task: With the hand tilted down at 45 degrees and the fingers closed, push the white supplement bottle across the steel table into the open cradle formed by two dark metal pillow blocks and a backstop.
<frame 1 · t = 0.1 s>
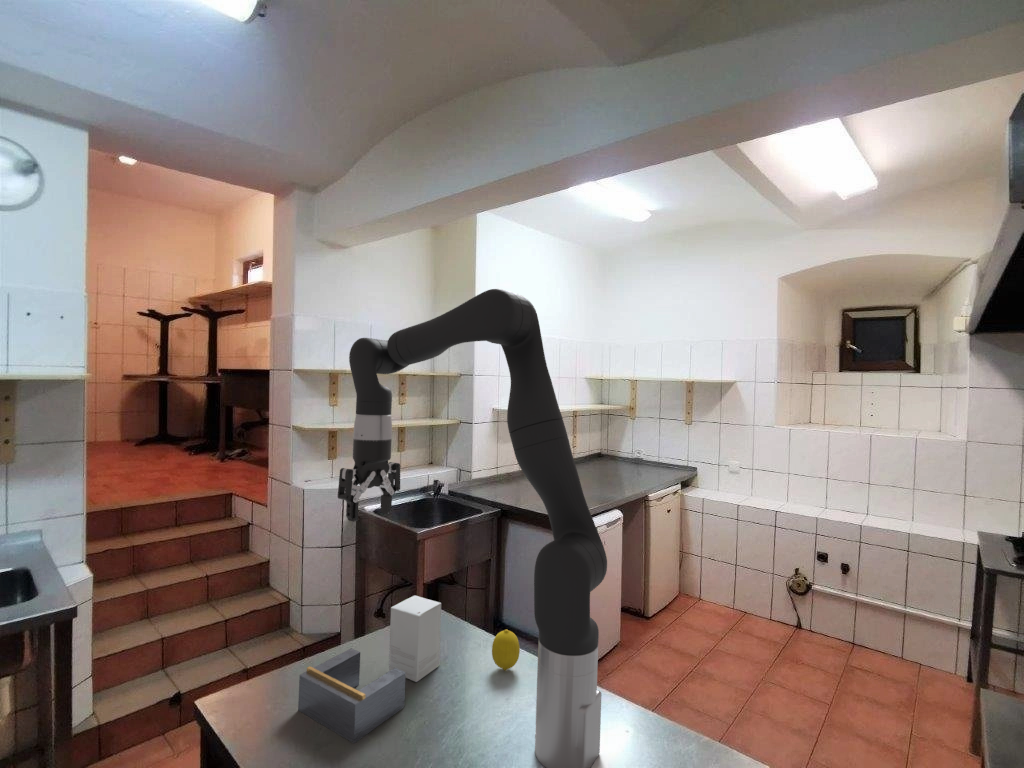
hand: (369, 516, 102), 29 cm above the countertop, tool pointing down, fingers open, 8 cm apart
cradle: (356, 705, 87), on the countertop
lemon: (504, 671, 100), on the countertop
supplement box: (414, 669, 99), on the countertop
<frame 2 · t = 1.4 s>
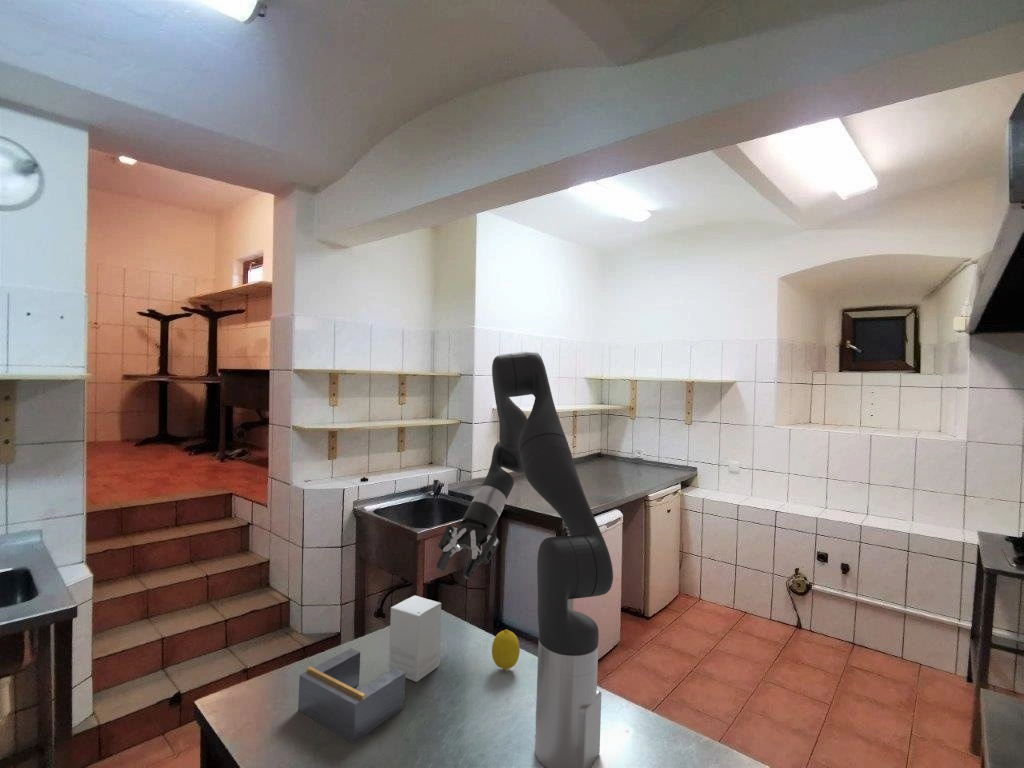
hand: (452, 573, 109), 15 cm above the countertop, tool tilted 45°, fingers open, 6 cm apart
nothing on the countertop moved.
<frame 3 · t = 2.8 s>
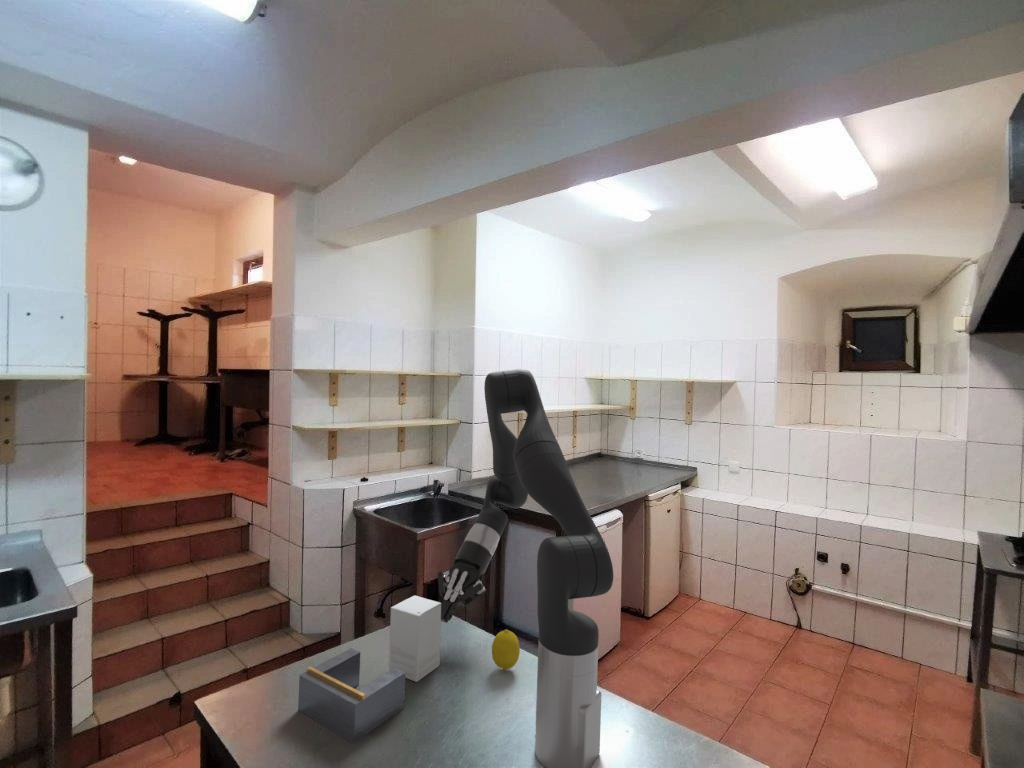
hand: (442, 620, 107), 6 cm above the countertop, tool tilted 45°, fingers closed
nothing on the countertop moved.
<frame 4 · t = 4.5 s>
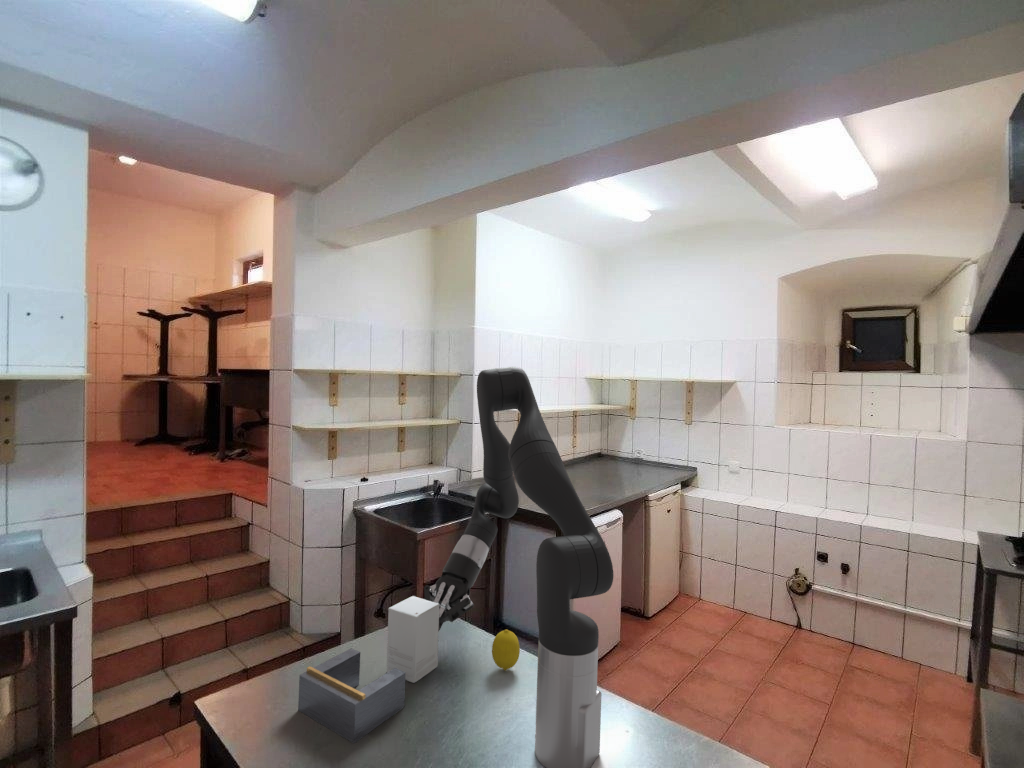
hand: (428, 636, 103), 5 cm above the countertop, tool tilted 45°, fingers closed
supplement box: (412, 670, 99), on the countertop, touching gripper
everything else where it was.
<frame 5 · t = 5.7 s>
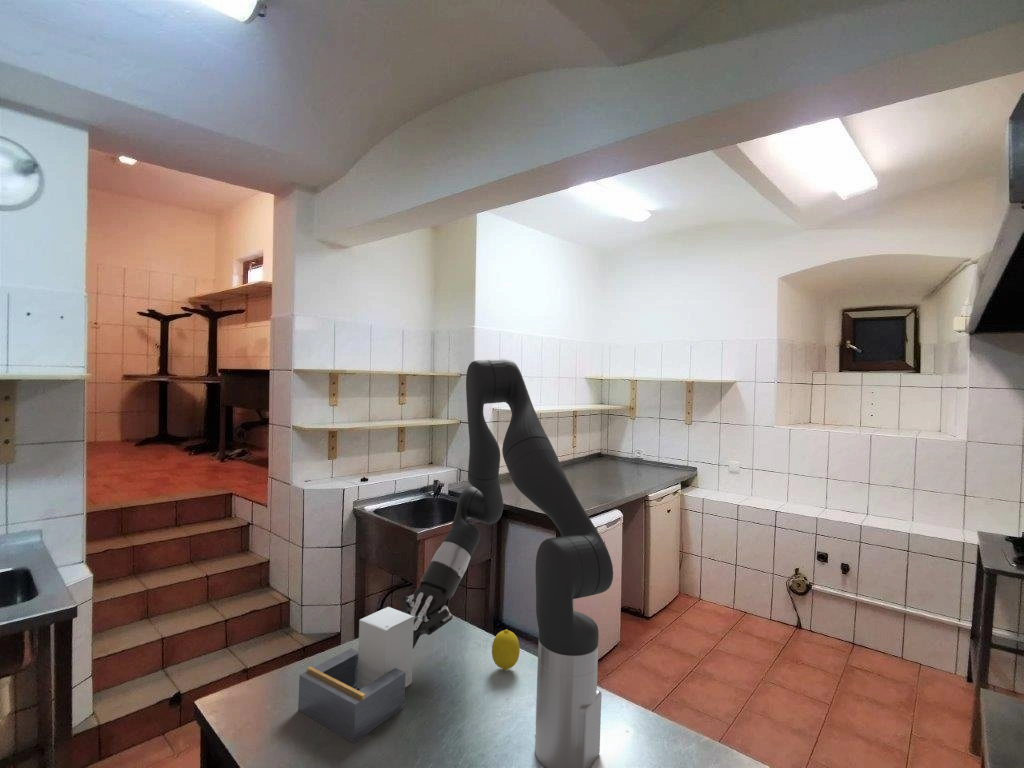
hand: (403, 650, 97), 5 cm above the countertop, tool tilted 45°, fingers closed
supplement box: (384, 686, 93), on the countertop, touching gripper
everything else where it was.
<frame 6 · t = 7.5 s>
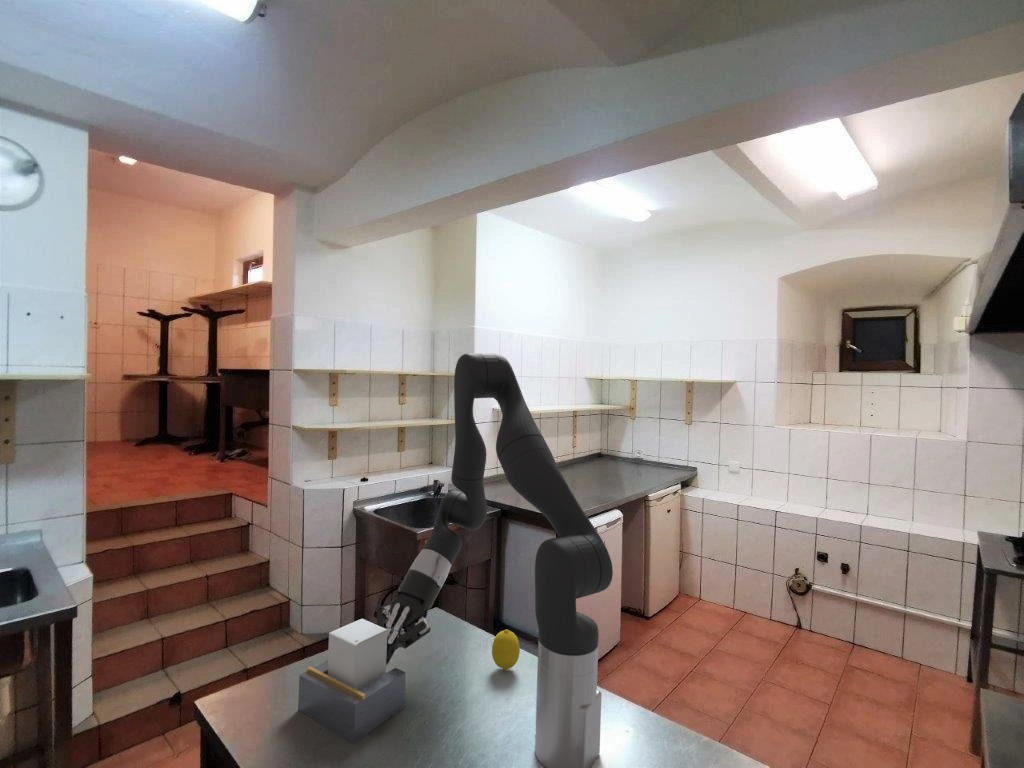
hand: (377, 665, 91), 5 cm above the countertop, tool tilted 45°, fingers closed
supplement box: (355, 704, 88), on the countertop, touching gripper
everything else where it was.
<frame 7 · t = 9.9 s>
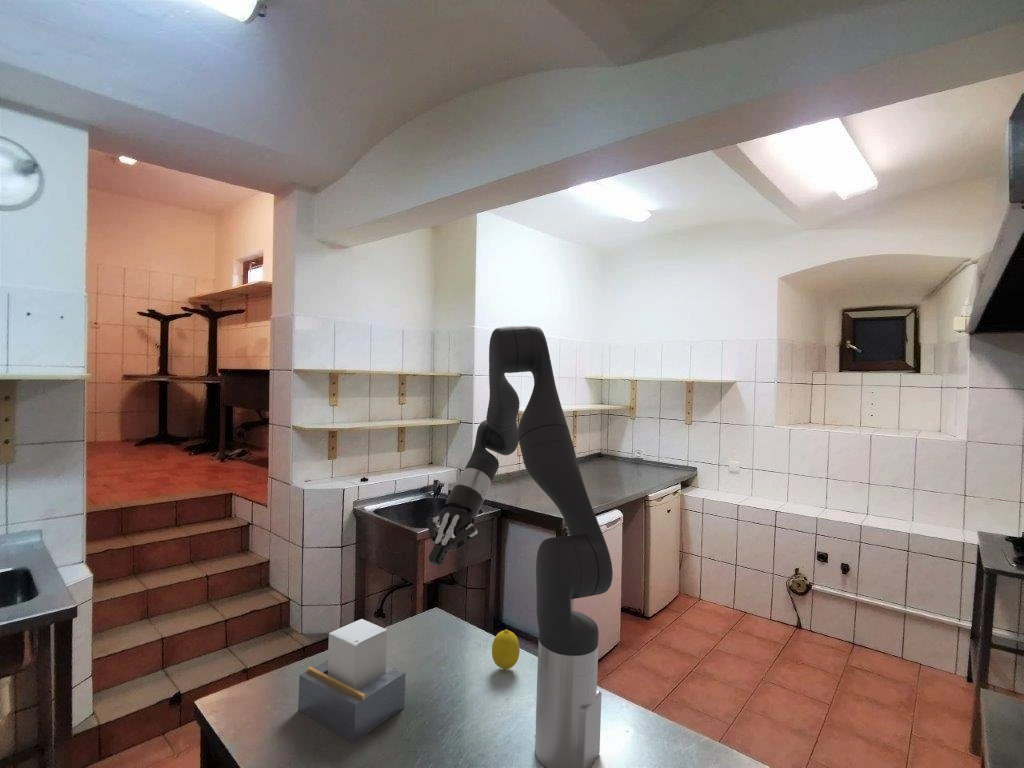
hand: (433, 563, 103), 20 cm above the countertop, tool tilted 45°, fingers closed
supplement box: (355, 704, 88), on the countertop
everything else where it was.
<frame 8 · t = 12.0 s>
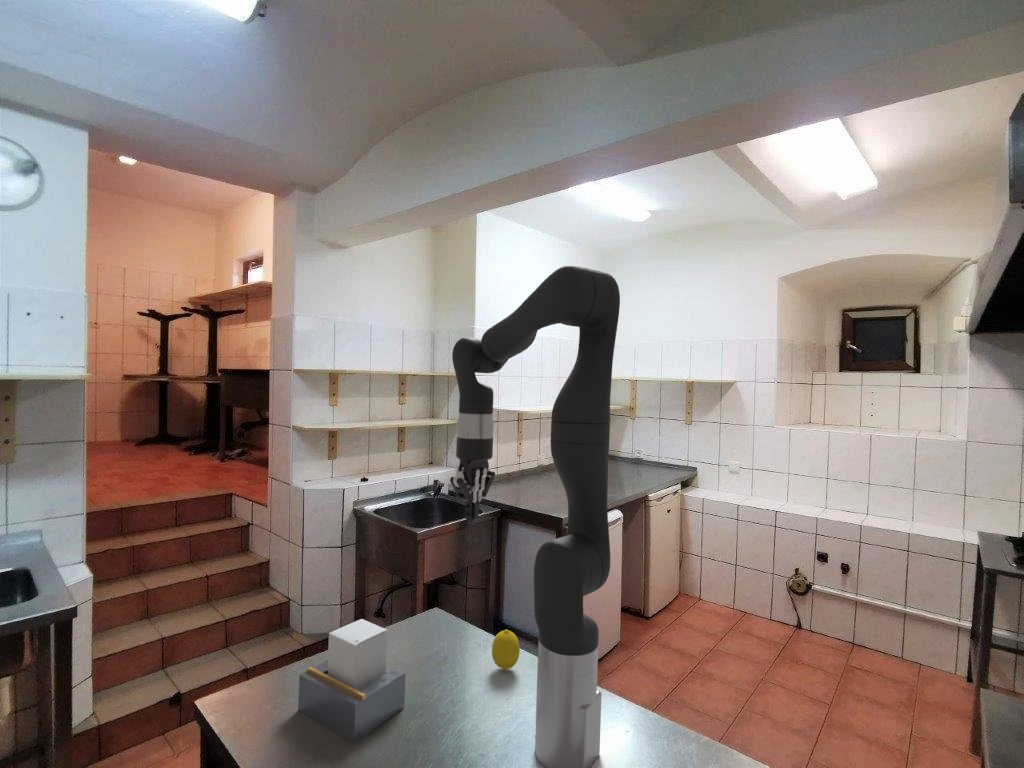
hand: (472, 519, 103), 29 cm above the countertop, tool pointing down, fingers closed
nothing on the countertop moved.
at the end: supplement box inside the target area (0.7 cm from its centre), on the countertop; supplement box tilted 0°; supplement box touching countertop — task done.
